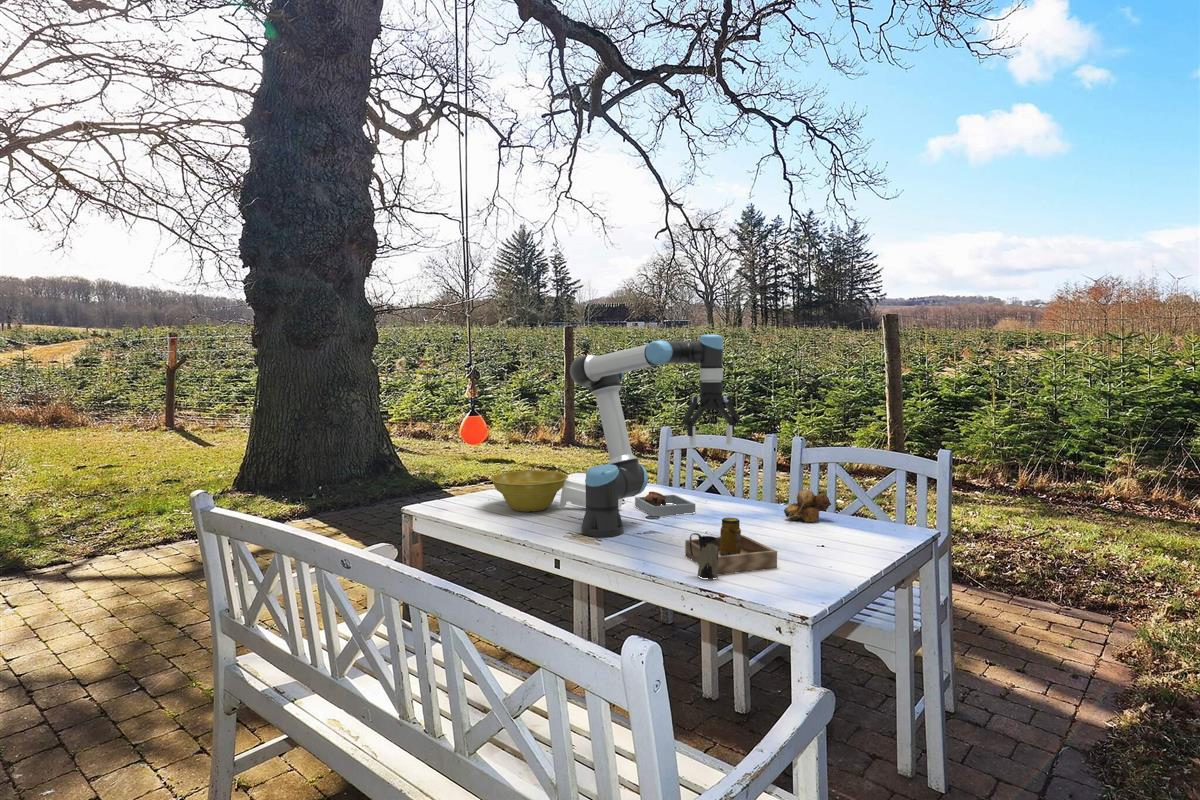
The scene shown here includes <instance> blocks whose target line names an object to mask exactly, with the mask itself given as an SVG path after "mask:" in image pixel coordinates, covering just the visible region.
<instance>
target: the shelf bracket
mask: <svg viewBox="0 0 1200 800" xmlns="http://www.w3.org/2000/svg"><path fill="white" fill-rule="evenodd" d="M623 501H624V498H623V499H618V509H621V508H622V504H623ZM569 502H570V503H571V504H572V505H574V506H579V507H583V508H586V483H585V482H580V481H575V480H570V479H565V481H564V485H563V487H562V488H561V493H560V500H559V506H558V510H561V509H563V508H565V507H566V505H567V503H569Z"/></svg>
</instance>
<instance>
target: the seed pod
mask: <svg viewBox="0 0 1200 800" xmlns="http://www.w3.org/2000/svg"><path fill="white" fill-rule="evenodd" d="M829 498H830V497H829V496H827V494H825V493H820V494H819V493H818V494H817V495H815V493H814V492H813V491H811V490H810V489H802V490H800V491H799V492H798V493H797V495H796V502H797V503H796V502H793V503H791V504H789V505H788V506H787V507H784V509H783V513H784V515H785V516H786V518H784V521H787V520H788V519H789V520H794V521H798V520H799V519H802V521H803V520H804V522H805V523H814V522H817V521H818V519H819V518H820V512H822V511H824V510H828V509H829V507H831V506H832V503H831V500H830V499H829Z"/></svg>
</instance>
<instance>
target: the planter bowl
mask: <svg viewBox="0 0 1200 800" xmlns="http://www.w3.org/2000/svg"><path fill="white" fill-rule="evenodd" d="M568 478H569V475H568V474H566V473H564V472H561V471H560V472H559V471H557V470H543V469H541V470H540V469H536V470H535V469H533V470H531V469H528V470H517V471H516V470H515V471H514V470H513V471H507V472H501V473H497V474H495V475H492V476H490V478H489V480H490V481H491V482H492V483H493V486H494V489H496V490H495V491H497V492H499V493H500V494H502V496H503V499H504V500H505V502H506V504H507V505H508V506H509V507H510V508H511V509H513V510H514V511H518V512H524V513H525V512H527V513H528V512H531V511H532V512H539V511H543V510H546V509H547V508H548V507H550V506H551V504H553V501H554V500H555V498H556V495H557V493H558V492H559V491H560V490H562V487H563V485H564V481H565V479H566V480H568ZM532 512H531V513H532Z"/></svg>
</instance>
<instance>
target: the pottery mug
mask: <svg viewBox="0 0 1200 800" xmlns="http://www.w3.org/2000/svg"><path fill="white" fill-rule="evenodd" d="M664 495H665V494H664ZM664 495H663V494H662V493H660V492H656V491H649V492H648V494H647V495H645V496H644V497H645V502H647V503H649V504H651V505H653V506H667V505H666V501H665V499H666V497H665V496H664ZM661 504H662V505H661Z"/></svg>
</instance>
